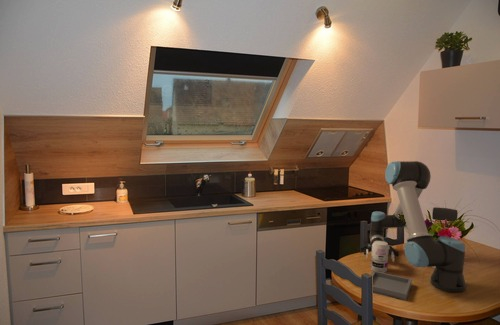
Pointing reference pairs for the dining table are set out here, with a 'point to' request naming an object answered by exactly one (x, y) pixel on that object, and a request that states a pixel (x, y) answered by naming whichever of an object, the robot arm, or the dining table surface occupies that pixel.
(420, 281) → the dining table surface
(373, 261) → the supplement can
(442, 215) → the rubber mallet
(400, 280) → the tray
